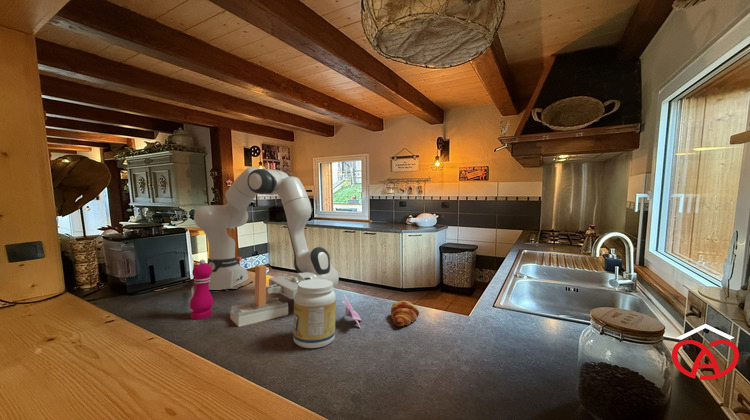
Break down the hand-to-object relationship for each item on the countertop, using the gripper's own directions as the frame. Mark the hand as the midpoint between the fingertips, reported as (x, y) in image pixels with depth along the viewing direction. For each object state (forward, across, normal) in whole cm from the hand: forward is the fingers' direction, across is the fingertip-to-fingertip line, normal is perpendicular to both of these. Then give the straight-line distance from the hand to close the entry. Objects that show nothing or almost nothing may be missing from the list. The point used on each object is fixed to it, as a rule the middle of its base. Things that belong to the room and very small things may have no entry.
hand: (266, 290), depth 104 cm
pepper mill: (+18, -13, +9) cm, 24 cm away
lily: (-18, +26, +9) cm, 33 cm away
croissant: (-37, +34, +9) cm, 51 cm away
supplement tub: (-4, +28, +9) cm, 30 cm away
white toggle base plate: (+2, 0, +9) cm, 9 cm away
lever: (+2, 0, +6) cm, 6 cm away
